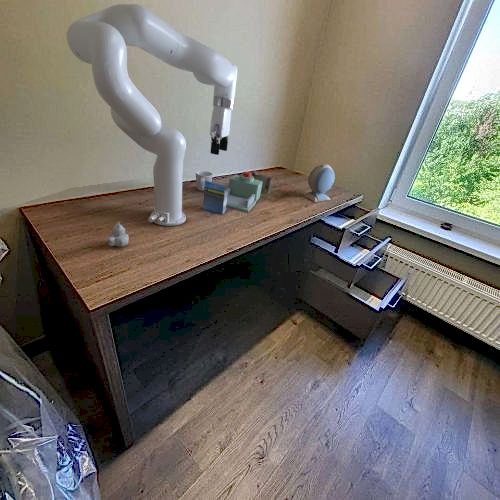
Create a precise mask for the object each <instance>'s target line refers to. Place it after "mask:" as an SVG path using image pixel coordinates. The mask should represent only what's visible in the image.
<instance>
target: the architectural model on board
mask: <svg viewBox="0 0 500 500" xmlns="http://www.w3.org/2000/svg"><path fill="white" fill-rule="evenodd" d="M251 171H252V172H251V175H252V176H253V177H254V179H255V180H260V181H263V183H262V188H261V193H263V194H266V195H269V194H271V192H272V191H277V190H276V189H274V188H272V185H273V180H274V178H272V177H269V176H266V175H262V174H260V173H258V172H257V170H255V169H252V170H251Z"/></svg>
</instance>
